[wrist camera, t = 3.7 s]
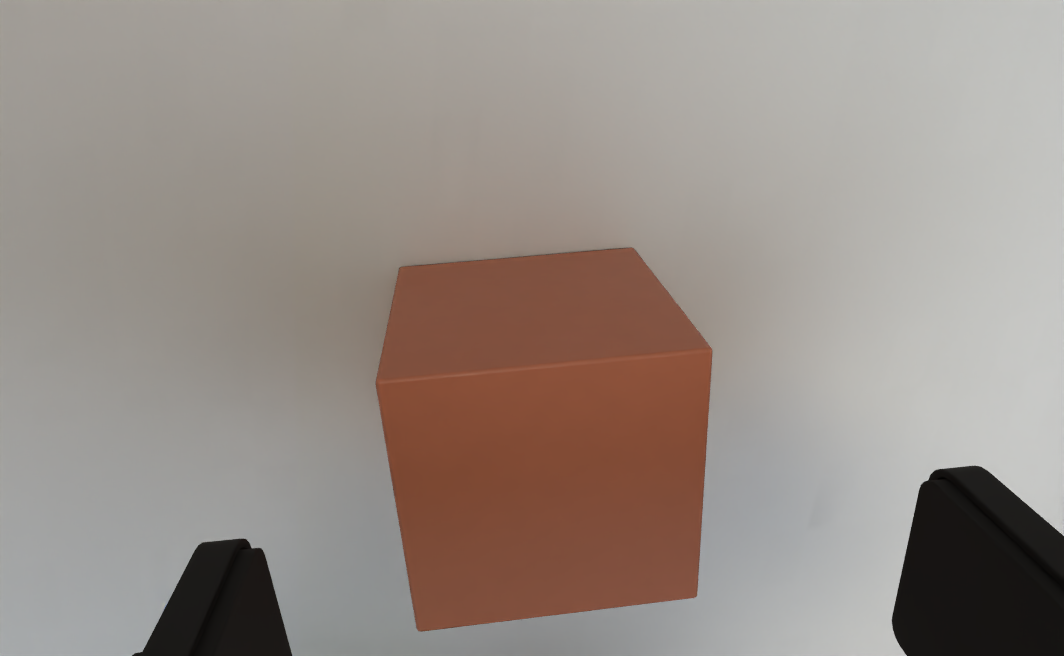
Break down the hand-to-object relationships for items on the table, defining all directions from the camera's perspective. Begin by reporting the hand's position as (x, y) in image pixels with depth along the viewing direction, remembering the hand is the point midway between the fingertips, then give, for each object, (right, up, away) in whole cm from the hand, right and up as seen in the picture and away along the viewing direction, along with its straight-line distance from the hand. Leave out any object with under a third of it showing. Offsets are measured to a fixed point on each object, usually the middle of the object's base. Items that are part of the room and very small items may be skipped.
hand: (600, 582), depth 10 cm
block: (-1, +3, +6) cm, 7 cm away
